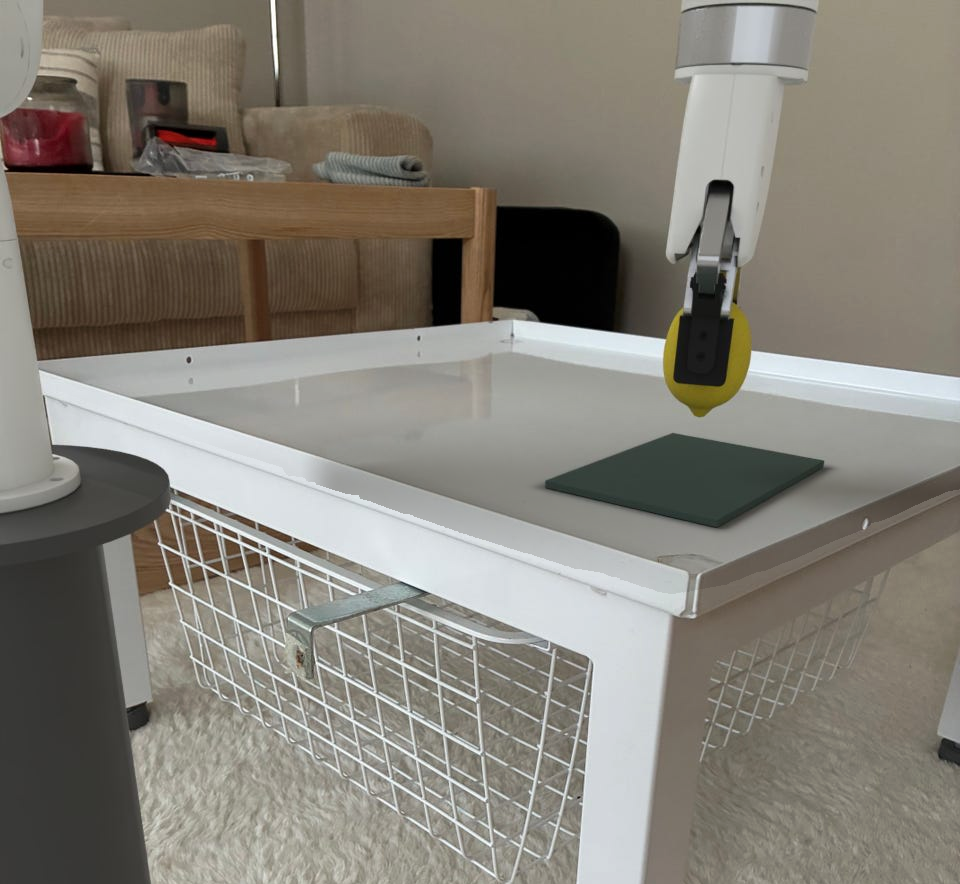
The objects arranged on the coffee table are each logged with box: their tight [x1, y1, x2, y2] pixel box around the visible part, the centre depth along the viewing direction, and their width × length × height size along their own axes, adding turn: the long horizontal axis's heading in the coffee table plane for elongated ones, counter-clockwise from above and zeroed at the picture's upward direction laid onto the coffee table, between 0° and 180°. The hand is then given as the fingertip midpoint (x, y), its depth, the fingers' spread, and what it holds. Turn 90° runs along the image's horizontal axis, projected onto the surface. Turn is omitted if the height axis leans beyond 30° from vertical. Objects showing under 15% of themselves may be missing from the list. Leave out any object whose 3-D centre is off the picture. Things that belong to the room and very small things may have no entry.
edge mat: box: [544, 432, 825, 528], centre depth 67 cm, size 18×12×1 cm, turn 143°
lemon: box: [662, 302, 752, 418], centre depth 63 cm, size 6×6×8 cm
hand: (703, 372), depth 64 cm, fingers closed on lemon, 5 cm apart
